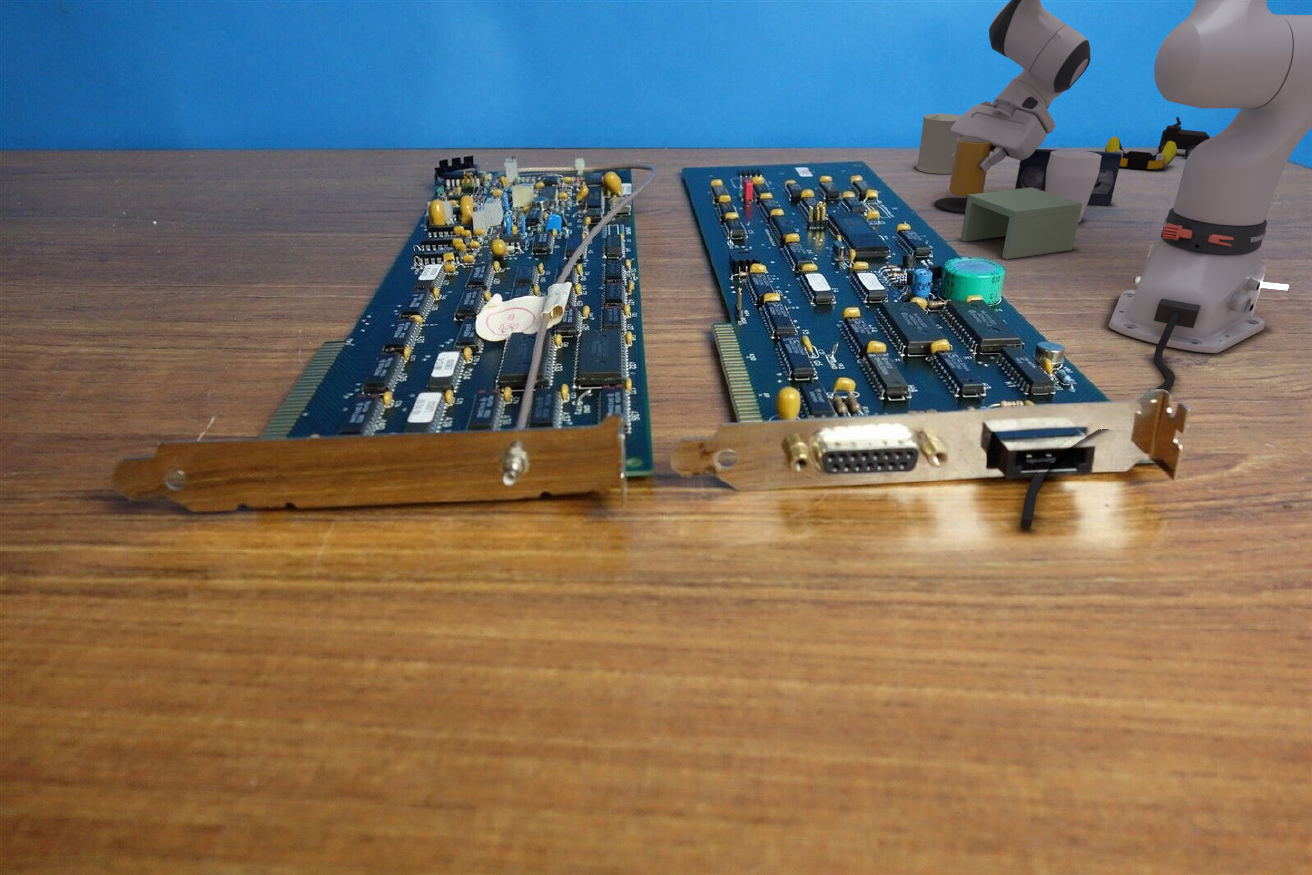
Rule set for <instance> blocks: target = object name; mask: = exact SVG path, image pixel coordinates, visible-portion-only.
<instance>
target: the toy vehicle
mask: <svg viewBox="0 0 1312 875" xmlns="http://www.w3.org/2000/svg"><path fill="white" fill-rule="evenodd" d="M1175 120H1176V123H1174V124H1171V125H1167V126H1166V128H1165V129H1163V130H1162V133H1161V136H1160V141H1159V145H1158V148H1157V151H1158V152H1159V151H1160V150H1161V149H1162V147H1163V146H1164V145H1165V144H1166V143H1167V142H1168V141H1172V142H1175V144H1176V147H1177V150H1183V151H1184V155H1185V157H1186V159H1187V158H1188V156H1189V155H1190V153H1191V152H1192V150H1193V149H1194V148H1195V147H1196V146H1198V145H1199V144H1200V143H1202V142H1204V141H1206V140H1208V139H1210V138H1211V137H1210V135H1209V134H1208V133H1207V132H1206V131H1202V130H1201V131H1200V130H1191V129H1182V126H1181V125H1182V121H1181V119H1180V117H1179V116H1177V117H1175Z"/></svg>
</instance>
